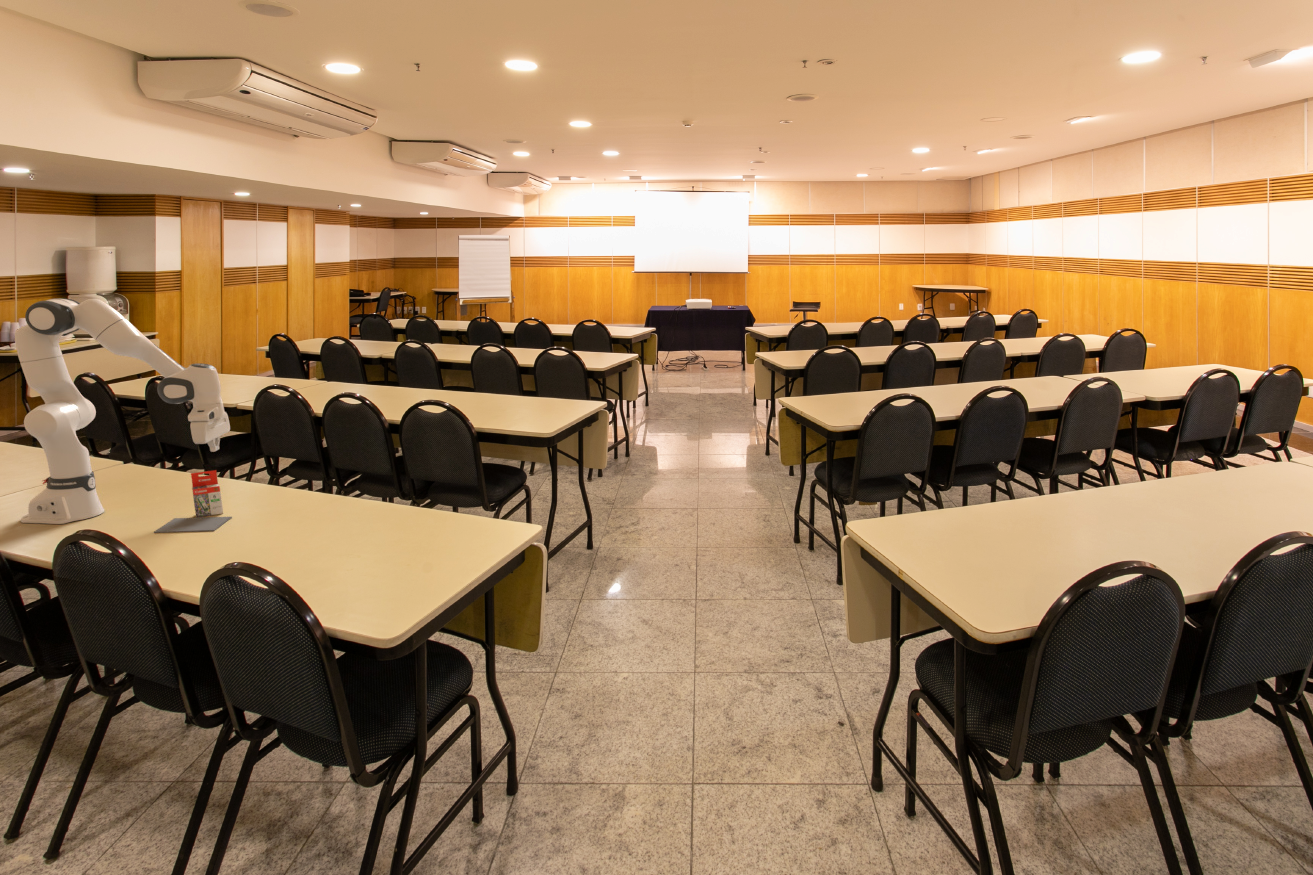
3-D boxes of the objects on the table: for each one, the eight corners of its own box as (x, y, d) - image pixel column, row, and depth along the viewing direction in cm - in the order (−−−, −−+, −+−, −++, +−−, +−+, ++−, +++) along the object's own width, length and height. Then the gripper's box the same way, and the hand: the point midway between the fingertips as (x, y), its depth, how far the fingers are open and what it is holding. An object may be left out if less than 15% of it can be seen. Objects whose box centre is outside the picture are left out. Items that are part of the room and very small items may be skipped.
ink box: (223, 513, 259) (218, 472, 255) (196, 517, 254) (190, 475, 251) (222, 510, 262) (217, 469, 258) (195, 514, 257) (189, 473, 254)
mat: (153, 532, 240) (153, 531, 240) (174, 519, 253) (174, 518, 253) (214, 531, 242) (214, 529, 242) (231, 517, 255) (231, 516, 255)
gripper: (213, 405, 269) (218, 443, 272) (184, 417, 249) (191, 458, 252) (232, 405, 270) (237, 443, 273) (205, 416, 250) (211, 457, 253)
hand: (215, 450), depth 262 cm, fingers closed
